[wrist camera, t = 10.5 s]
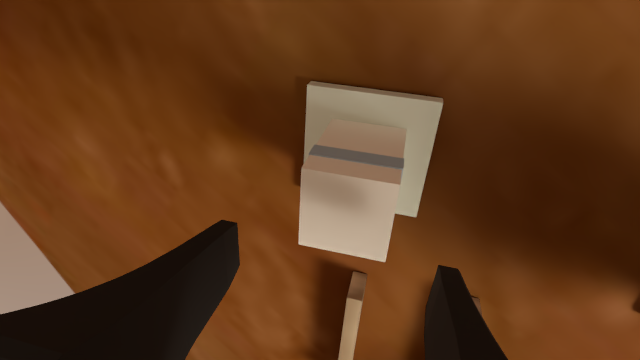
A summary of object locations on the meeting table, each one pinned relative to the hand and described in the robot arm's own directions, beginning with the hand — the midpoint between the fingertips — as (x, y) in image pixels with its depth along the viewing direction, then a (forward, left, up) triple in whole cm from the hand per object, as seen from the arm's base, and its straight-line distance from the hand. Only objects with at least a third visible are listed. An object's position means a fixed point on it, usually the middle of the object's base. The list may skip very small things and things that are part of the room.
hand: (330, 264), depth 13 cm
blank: (0, 0, -9) cm, 9 cm away
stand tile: (0, 0, -10) cm, 10 cm away
